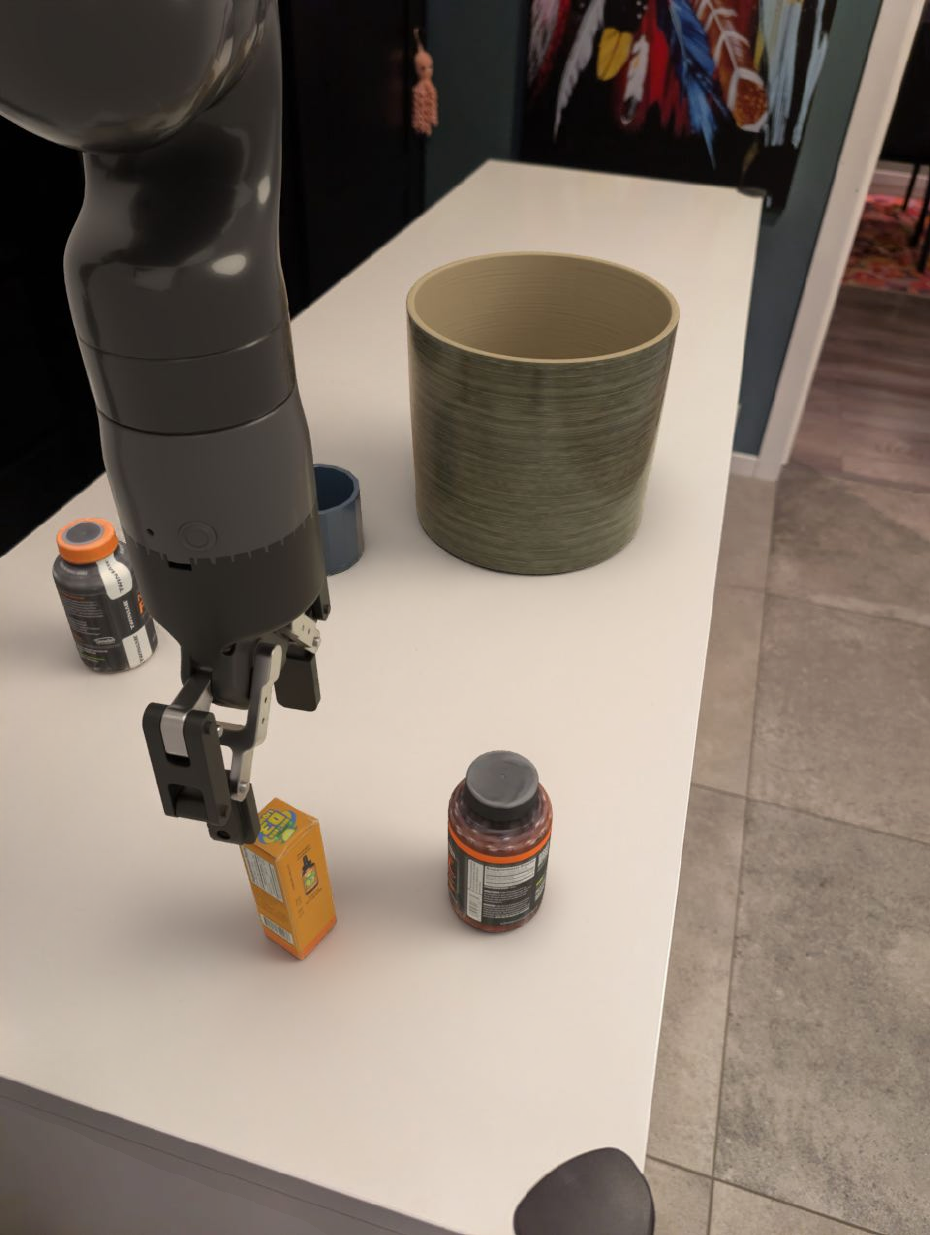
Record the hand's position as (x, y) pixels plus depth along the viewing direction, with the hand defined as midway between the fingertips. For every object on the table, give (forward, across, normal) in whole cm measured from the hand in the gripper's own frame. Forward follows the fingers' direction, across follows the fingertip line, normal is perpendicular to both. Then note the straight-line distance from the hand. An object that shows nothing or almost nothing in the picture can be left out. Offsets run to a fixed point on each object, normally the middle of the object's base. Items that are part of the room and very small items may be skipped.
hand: (270, 766), depth 48 cm
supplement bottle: (+15, -5, +11) cm, 19 cm away
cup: (+15, -36, -11) cm, 40 cm away
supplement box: (+15, 0, 0) cm, 15 cm away
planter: (+15, -47, +6) cm, 50 cm away
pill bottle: (+15, -20, -22) cm, 33 cm away
